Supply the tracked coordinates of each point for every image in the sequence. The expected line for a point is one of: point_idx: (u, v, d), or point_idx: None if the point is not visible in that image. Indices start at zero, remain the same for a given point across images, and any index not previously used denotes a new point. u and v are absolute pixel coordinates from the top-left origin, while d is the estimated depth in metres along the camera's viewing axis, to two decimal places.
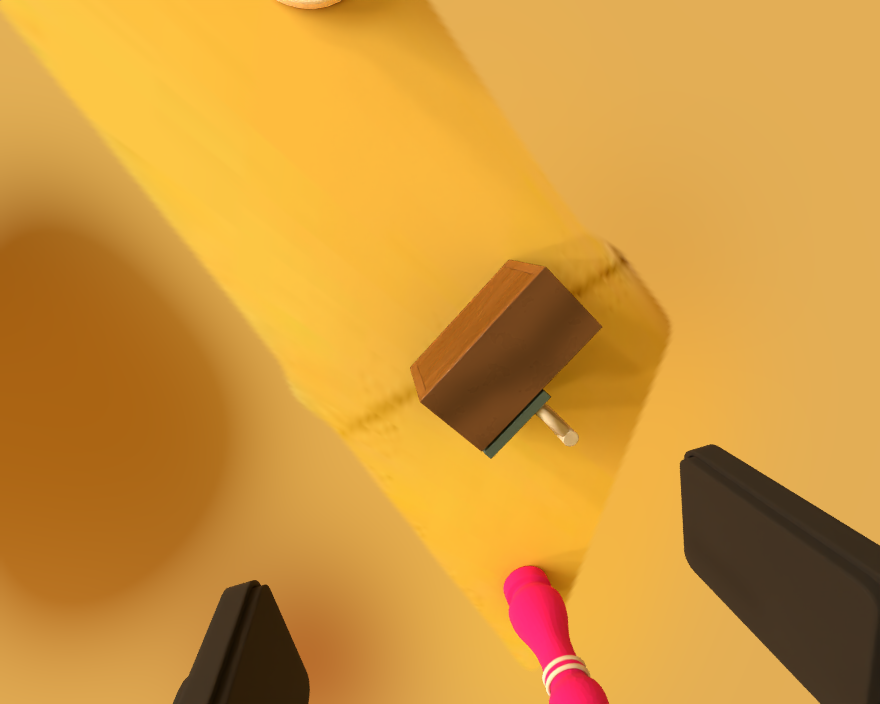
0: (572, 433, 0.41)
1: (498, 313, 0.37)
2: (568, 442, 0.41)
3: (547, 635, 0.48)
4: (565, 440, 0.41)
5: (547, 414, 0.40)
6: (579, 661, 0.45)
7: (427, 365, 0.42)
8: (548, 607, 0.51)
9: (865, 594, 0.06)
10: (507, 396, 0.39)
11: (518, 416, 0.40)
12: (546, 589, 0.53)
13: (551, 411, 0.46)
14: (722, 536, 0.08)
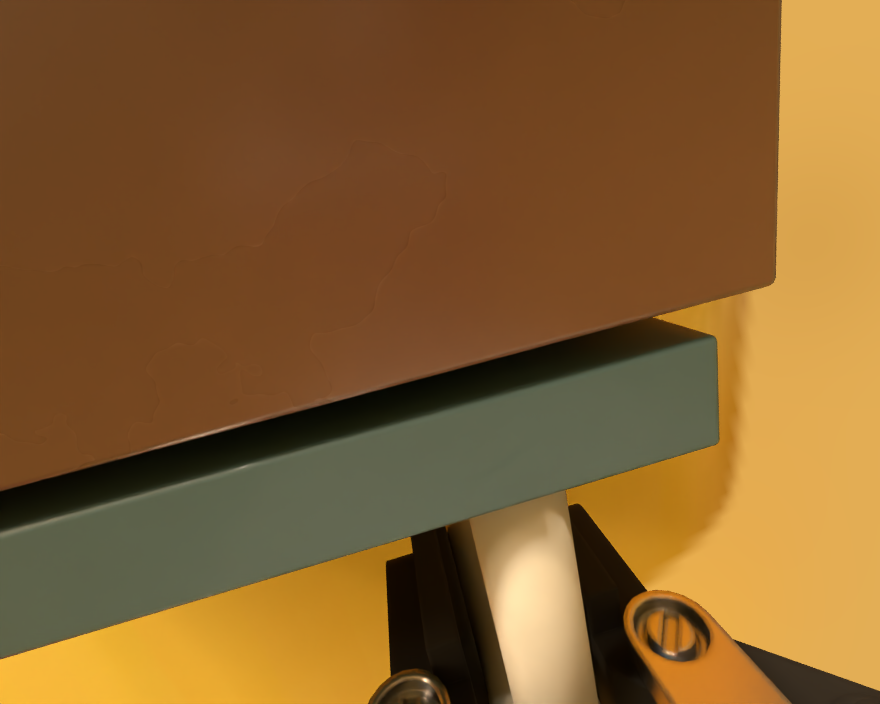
0: None
1: None
2: None
3: None
4: None
5: (565, 579, 0.04)
6: None
7: None
8: None
9: None
10: None
11: (288, 446, 0.03)
12: None
13: None
14: None
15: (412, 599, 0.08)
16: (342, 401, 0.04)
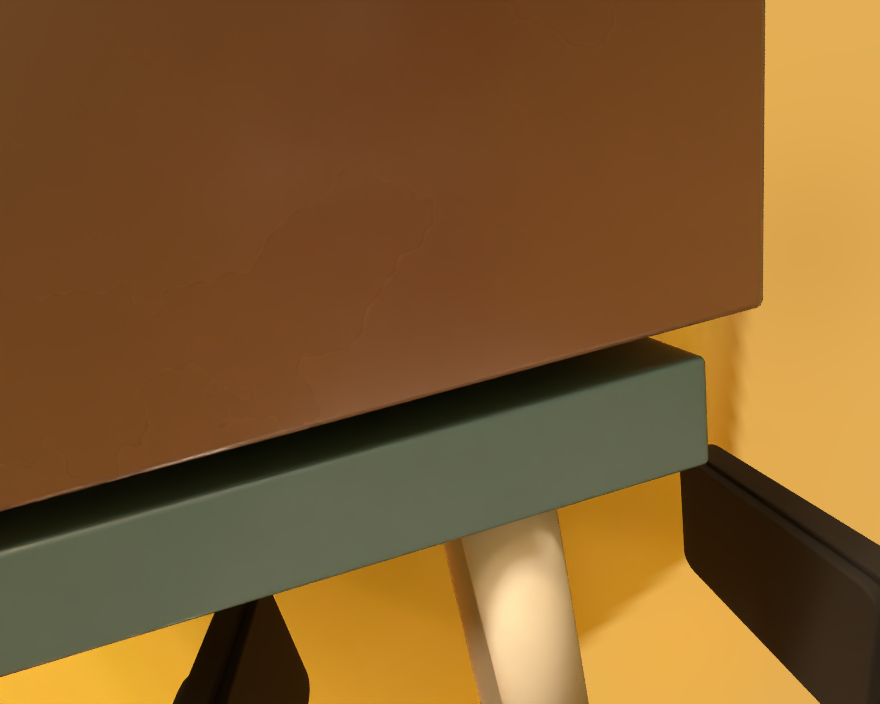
0: None
1: None
2: None
3: None
4: None
5: (556, 597, 0.04)
6: None
7: None
8: None
9: (865, 594, 0.06)
10: None
11: (277, 467, 0.03)
12: None
13: None
14: (722, 536, 0.08)
15: None
16: None
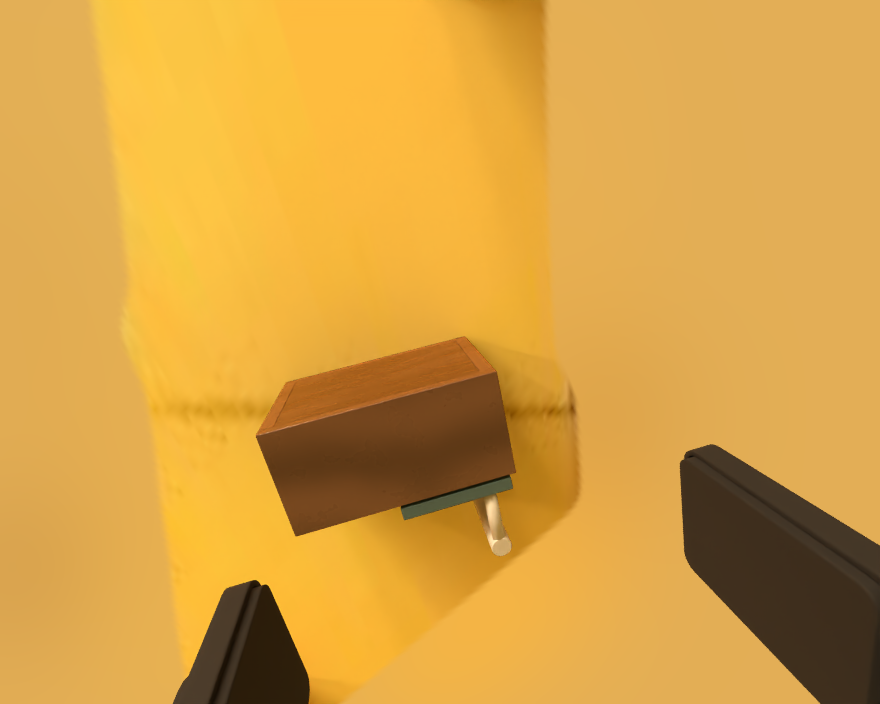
0: (507, 542, 0.32)
1: (414, 390, 0.28)
2: (497, 549, 0.32)
3: None
4: (495, 545, 0.32)
5: (496, 505, 0.31)
6: None
7: (302, 394, 0.32)
8: None
9: (865, 594, 0.06)
10: (365, 488, 0.29)
11: (465, 489, 0.30)
12: None
13: None
14: (722, 536, 0.08)
15: None
16: None
